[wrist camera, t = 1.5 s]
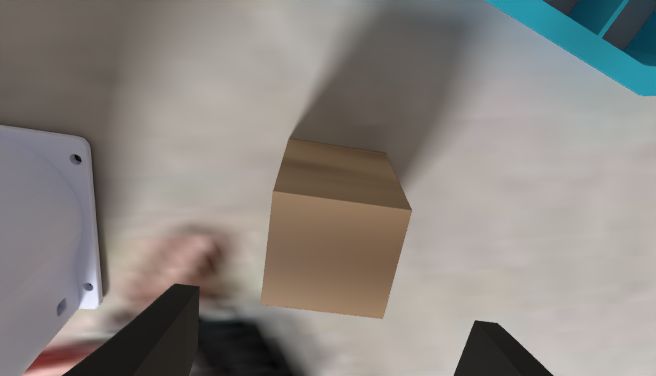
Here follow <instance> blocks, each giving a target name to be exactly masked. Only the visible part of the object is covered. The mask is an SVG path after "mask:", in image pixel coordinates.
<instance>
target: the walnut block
mask: <svg viewBox="0 0 656 376" xmlns="http://www.w3.org/2000/svg"><path fill="white" fill-rule="evenodd" d="M411 212H412V209H411V207H410V205H409V203H408V201H407V199H406V196H405V194H404V192H403V190H402V188H401V185H400V183H399V181H398V179H397V177H396V175H395V172H394V170H393V168H392V166H391V164H390V162H389V159H388V157H387V155H386V153H383V152H376V151H369V150H363V149H356V148H349V147H342V146H336V145H329V144H322V143H316V142H309V141H302V140H296V139H289V140H288V143H287V146H286V150H285V153H284V156H283V160H282V163H281V167H280V170H279V173H278V177H277V180H276V183H275V187H274V190H273V197H272V206H271V215H270V224H269V233H268V242H267V251H266V260H265V269H264V278H263V287H262V296H261V305H270V306H278V307H287V308H295V309H303V310H312V311H320V312H329V313H337V314H345V315H354V316H362V317H371V318H379V319H383V317H384V313H385V309H386V305H387V302H388V298H389V294H390V290H391V287H392V283H393V279H394V276H395V272H396V268H397V264H398V261H399V257H400V253H401V250H402V246H403V242H404V238H405V235H406V231H407V227H408V224H409V220H410V216H411Z"/></svg>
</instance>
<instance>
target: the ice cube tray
mask: <svg viewBox="0 0 656 376" xmlns="http://www.w3.org/2000/svg"><path fill="white" fill-rule="evenodd" d="M485 1H487V2H488V3H490V4H492V5H493V6H495V7H497V8H498V9H500V10H501V11H503V12H505V13H506V14H508V15H510V16H511V17H513V18H514V19H516V20H518V21H519V22H521V23H523V24H524V25H526V26H527V27H529V28H531V29H532V30H534V31H536V32H537V33H539V34H540V35H542V36H544V37H545V38H547V39H549V40H550V41H552V42H553V43H555V44H557V45H558V46H560V47H562V48H563V49H565V50H566V51H568V52H570V53H571V54H573V55H575V56H576V57H578V58H579V59H581V60H583V61H584V62H586V63H587V64H589V65H591V66H592V67H594V68H596V69H597V70H599V71H600V72H602V73H604V74H605V75H607V76H609V77H610V78H612V79H613V80H615V81H617V82H618V83H620V84H622V85H623V86H625V87H626V88H628V89H630V90H631V91H633V92H635V93H636V94H638V95H642V96H656V10H655V11H654V12H653V14H652V15H651V16H650V18H649V19H648V20H647V22H646V23H645V24H644V25H643V27H642V28H641V29H640V31H639V32H638V33H637V35H636V36H635V37H634V39H633V40H632V41H631V43H630V44H629V45H628V46H627V48H626V49H623V50H619V49H618V48H616V47H615V46H613V45H612V44H610V43H609V42H607V41H605V40H604V39H602V37H603V36H604V34H605V33H606V31H607V30H608V29H609V27H610V26H611V25H612V23H613V22H614V20H615V19H616V18H617V16H618V15H619V14H620V12H621V11H622V10H623V8H624V7H625V5H626V4H627V3H628V1H629V0H579V1H578V3H577V4H576V6H575V7H574V9H573V10H572V12H571V13H570V15H569V16H566V15H565V14H563V13H561V12H560V11H558V10H557V9H555V8H554V7H552V6H550V5H549V4H547V3H546V2H544V1H543V0H485Z"/></svg>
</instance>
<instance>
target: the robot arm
mask: <svg viewBox="0 0 656 376" xmlns="http://www.w3.org/2000/svg"><path fill="white" fill-rule="evenodd" d="M75 154H76V155H78V156H79V157H80V158H81V160H82V162H79V161H77V160H76V159H75ZM88 283H90V284H92V285H93V286H90V285H89V284H88ZM199 289H200V287H199V286H191V285H183V284H174V285H172V286H171V287H170V288H169V289H168V290H166V291H165V292H164V293H163V294H162V295H161V296H160V297H159V298H157V299H156V300H155V301H154V302H153V303H152V304H151V305H150V306H148V307H147V308H146V309H145V310H144V311H143V312H142V313H140V314H139V315H138V316H137V317H136V318H135V319H134V320H132V321H131V322H130V323H129V324H128V325H126V326H125V327H124V328H123V329H121V330H120V331H119V332H118V333H117V334H115V335H114V336H113V337H112V338H111V339H109V340H108V341H107V342H106V343H104V344H103V345H102V346H101V347H99V348H98V349H97V350H95V351H94V352H93V353H91V354H90V355H89V356H87V357H86V358H85V359H83V360H82V361H81V362H80V363H78V364H77V365H76V366H74V367H73V368H72V369H70V370H69V371H68V372H66V373H65V374H63V375H62V376H189V373H190V370H191V367H192V364H193V361H194V357H195V354H196V351H197V345H198V317H199ZM102 301H103V294H102V282H101V270H100V258H99V246H98V234H97V222H96V209H95V197H94V185H93V173H92V161H91V149H90V145H89V143H88V142H87V140H85V139H84V138H82V137H79V136H74V135H67V134H60V133H53V132H46V131H40V130H33V129H26V128H19V127H12V126H5V125H0V376H21V375H22V374H23V373H24V372H25V371H26V369H27V368H28V367H29V366H30V365H31V364H32V362H33V361H34V360H35V359H36V358H37V357H38V355H39V354H40V353H41V352H42V351H43V350H44V348H45V347H46V346H47V345H48V344H49V342H50V341H51V340H52V339H53V338H54V337H55V335H56V334H57V333H58V332H59V331H60V330H61V328H62V327H63V326H64V325H65V324H66V323H67V321H68V320H69V319H70V318H71V317H72V316H73V314H74V313H75V312H76V311H77V310H78V308H84V309H96V308H98V307H99V306H100V304H101V303H102ZM454 376H553V375H552V374H551V373H550V372H549V371H548V370H547V369H546V368H545V367H544V366H543V365H542V364H541V363H540V362H539V361H538V360H537V359H536V358H534V357H533V356H532V355H531V354H530V353H529V352H528V351H527V350H526V349H525V348H524V347H523V346H522V345H521V344H520V343H519V342H518V341H517V340H516V339H515V338H513V337H512V336H511V335H510V334H509V333H508V332H507V331H506V330H505V329H504V328H502V327H501V326H500V325H499V324H498V323H493V322H484V321H476V320H475V322H474V324H473V327H472V329H471V332H470V335H469V337H468V340H467V342H466V345H465V347H464V350H463V353H462V355H461V358H460V360H459V363H458V366H457V368H456V371H455V373H454Z"/></svg>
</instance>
